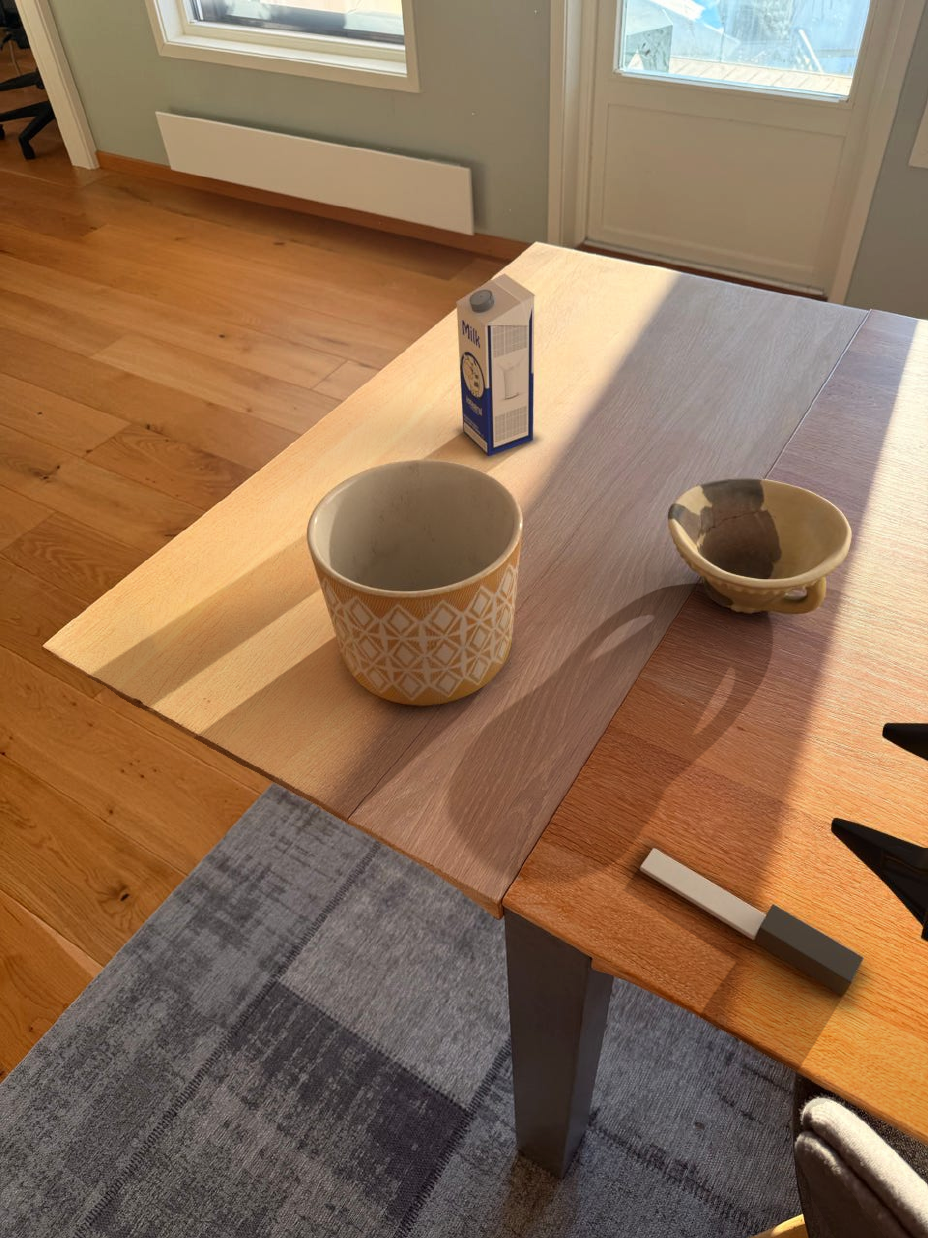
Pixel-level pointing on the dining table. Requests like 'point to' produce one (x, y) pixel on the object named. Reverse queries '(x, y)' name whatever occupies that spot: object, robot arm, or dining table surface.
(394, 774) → the dining table surface
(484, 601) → the planter
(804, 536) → the bowl
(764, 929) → the two-tone stick
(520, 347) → the milk carton
